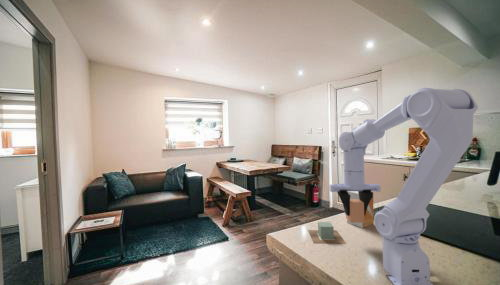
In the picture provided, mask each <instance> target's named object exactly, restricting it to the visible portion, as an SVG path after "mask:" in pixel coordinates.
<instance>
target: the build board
mask: <svg viewBox="0 0 500 285" xmlns="http://www.w3.org/2000/svg"><path fill="white" fill-rule="evenodd" d="M307 232H308V234H309V235H310V236H309V237H310V238H311V241H312V243H313V244H319V245H320V244H322V245H325V244H326V245H332V244H333V245H347V242H346V241H345V239H344V238H343V237H342V235H341V234H340V232H339V231H337V229H335V230H334V239H321V238H320V236H319V234H318V229H317V230H316V229H307Z"/></svg>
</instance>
